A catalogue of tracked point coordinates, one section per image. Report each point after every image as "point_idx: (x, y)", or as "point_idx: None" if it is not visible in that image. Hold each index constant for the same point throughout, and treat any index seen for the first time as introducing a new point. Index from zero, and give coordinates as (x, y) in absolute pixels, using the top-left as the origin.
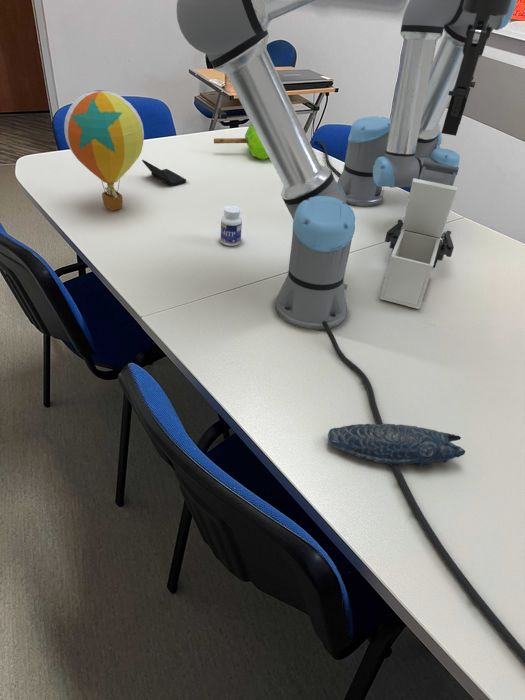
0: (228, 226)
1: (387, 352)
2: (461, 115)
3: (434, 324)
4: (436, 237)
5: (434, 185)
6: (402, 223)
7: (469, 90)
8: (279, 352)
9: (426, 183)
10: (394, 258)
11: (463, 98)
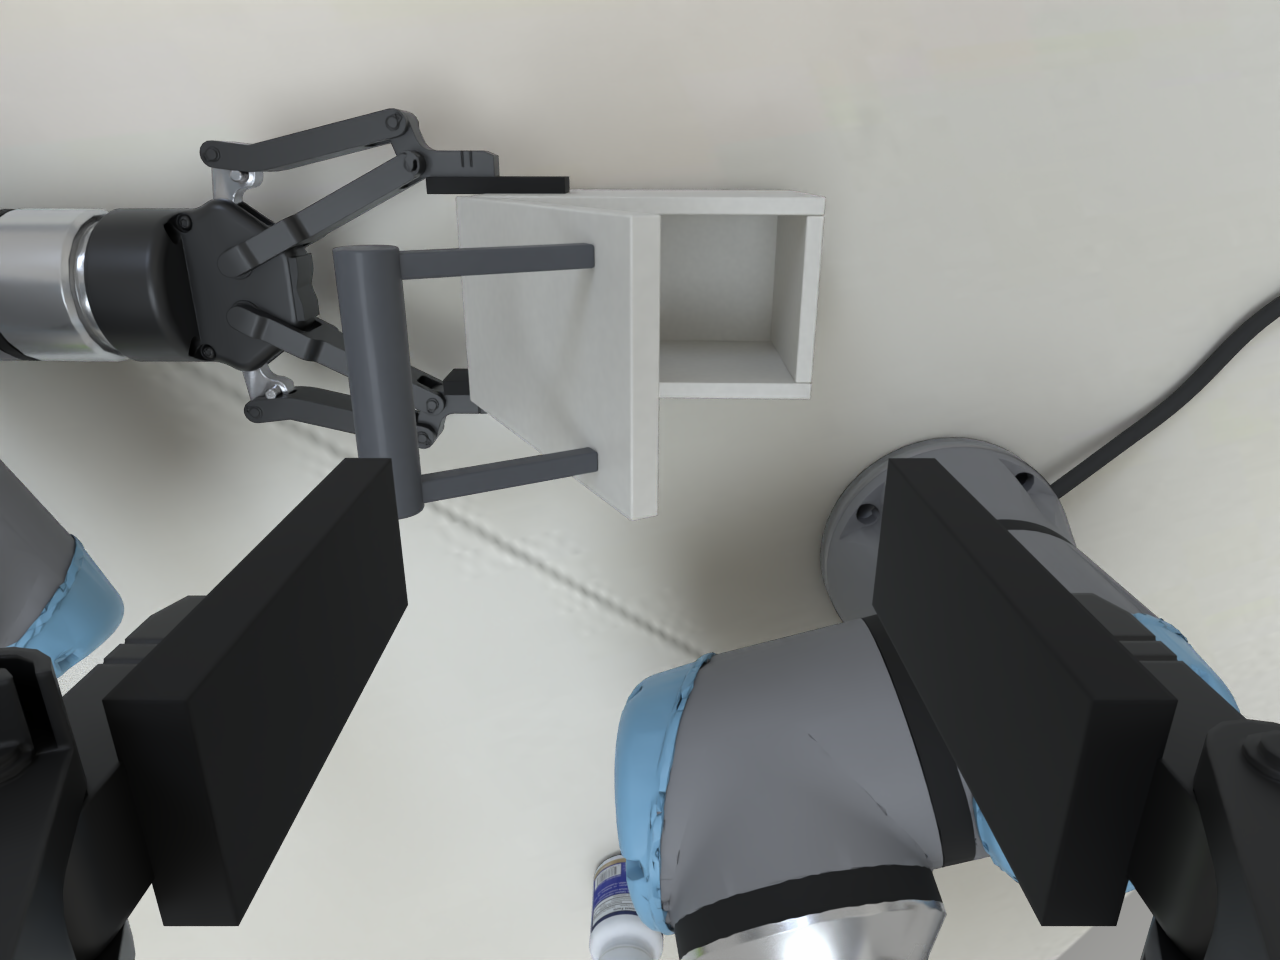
0: (662, 934)
1: (1100, 258)
2: (1027, 559)
3: (860, 113)
4: (329, 212)
5: (655, 374)
6: (281, 398)
7: (199, 684)
8: (1189, 562)
9: (653, 429)
10: (811, 379)
11: (1159, 743)
